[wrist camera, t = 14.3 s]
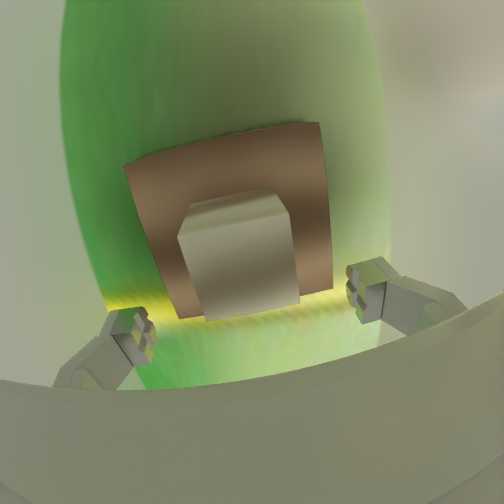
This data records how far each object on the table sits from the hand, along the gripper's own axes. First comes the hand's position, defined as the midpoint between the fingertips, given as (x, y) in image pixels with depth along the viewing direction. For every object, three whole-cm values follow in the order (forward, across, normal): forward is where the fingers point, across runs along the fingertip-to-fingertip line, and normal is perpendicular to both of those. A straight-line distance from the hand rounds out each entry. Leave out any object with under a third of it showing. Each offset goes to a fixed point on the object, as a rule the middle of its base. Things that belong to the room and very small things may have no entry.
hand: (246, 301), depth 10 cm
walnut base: (+11, 0, +1) cm, 11 cm away
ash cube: (+8, 0, 0) cm, 8 cm away
